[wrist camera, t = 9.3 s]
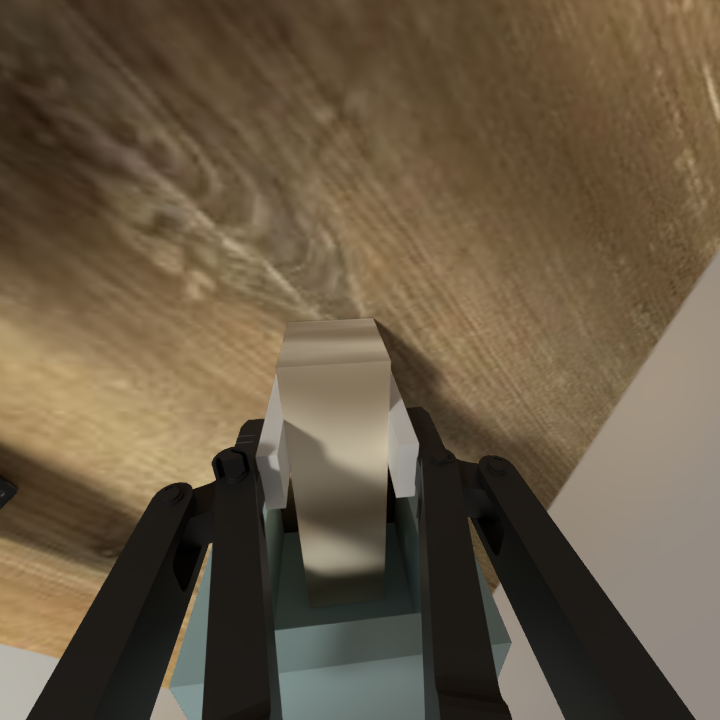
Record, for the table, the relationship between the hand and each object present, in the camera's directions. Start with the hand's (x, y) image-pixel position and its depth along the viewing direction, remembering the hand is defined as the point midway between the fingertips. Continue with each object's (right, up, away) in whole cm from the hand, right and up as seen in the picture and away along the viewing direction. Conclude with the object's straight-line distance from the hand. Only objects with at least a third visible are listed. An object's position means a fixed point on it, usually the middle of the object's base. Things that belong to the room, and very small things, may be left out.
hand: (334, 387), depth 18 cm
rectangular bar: (0, -4, +2) cm, 4 cm away
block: (0, -9, +5) cm, 10 cm away
